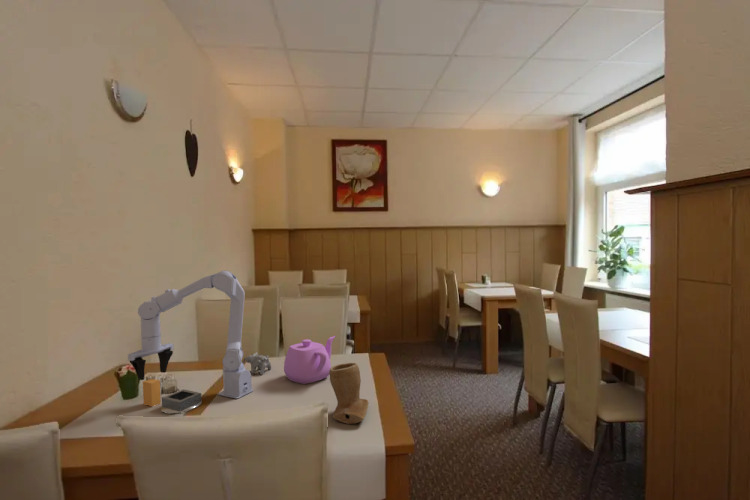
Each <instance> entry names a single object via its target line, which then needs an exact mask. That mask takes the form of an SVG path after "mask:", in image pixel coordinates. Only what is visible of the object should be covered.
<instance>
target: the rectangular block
mask: <svg viewBox="0 0 750 500" xmlns="http://www.w3.org/2000/svg"><path fill="white" fill-rule="evenodd" d="M142 390H143V391H142V392H143V394H142V395H143V405H144V404H145V405H149V406H154V405H156V406H158V405H157V404H159V405H161V404H162V397H161V396H162V395H161V380H160V379H156V378H155V379H154V378H149V379H146V380H142ZM160 403H161V404H160ZM145 405H144V406H145ZM149 406H148V407H149ZM154 407H155V406H154Z"/></svg>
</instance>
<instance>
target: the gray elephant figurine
mask: <svg viewBox="0 0 750 500" xmlns="http://www.w3.org/2000/svg"><path fill="white" fill-rule="evenodd" d="M245 362H246V363H247V364H250V370H251V371H250V373H251V375H254V374H255V373H256V370H258V371H259V375H260V376H263V375H264V373H265V372H264V371H265V370H266V369H267V370H268V371H270V370H272V365H271V361H270V356H269V355H262V354H259V353H258V351H256V352H255V353H253V354H249V355H247V356H245V357H244V358H243V360H242V363H243V364H244V365H245Z"/></svg>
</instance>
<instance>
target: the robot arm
mask: <svg viewBox="0 0 750 500" xmlns="http://www.w3.org/2000/svg"><path fill="white" fill-rule="evenodd" d="M213 288H215V289H216V290H218V291H220V292H223V293H224V294H225V295H226V296H228V298H230V308H229V318H228V319H229V321H228V333H227V343H226V350H225V353H224V354H225V355H224V357H223V359H222V361H221V362H222V366H223V367H222V379H223V382H222V383H223V385H222V386H223V390H222V391H220V392H218V393H217V396H221V397H227V398H231V399H239V398H241V397H244V396H246V395H248V394H249V393H252V392H253V391H254V388H252V386H253V384H252V373H251V371H250V370H248V369H246V367H245V363H244V364H243V359H244V358H243V357H244V351H243V349H242V334H243V323H244V322H243V321H244V309H245V296H246V292H245V289H244V288H243V286H242V285H241V283H240V282H239V280H238V278H237V276H236V275H234V273H232V272H231V271H228V270H221V271H218V272H217V273H213V274H210V275H209V274H208V275H206V276H203V277H202V278H200V279H197V280H196V281H194V282H192V283H190V284H188V285H186V286H184V287H183V288H181V289H175V288H172V289H170V288H168V289H166V290H164V292H163V293H162V294H160V295H157V296H153V297H150V299H151V300H148V301H144V302H143V303H141V304H140V305H139V307H138V308H137V314H138V316H139V317H140V334H141V335H140V337H141V338H140V341H141V343H140V344H141V349H140V350H137V351H134V352H131V353H128V354H127V361H129V363H130V364H131V365H132V367H133V368H134V370H135V373H136V375H137V379H138V381H139V380H140V381H145V366H146V362H147V360H146V359H144V357H148V356H151V355H156V354H157V356H158V359H159V370H160V371H159V372H161V373H166V372H167V368H168V365H169V362H170V359H171V357H172V356H173V354H174V343H164V344H162V332H161V331H162V330H161V329H162V328H161V317H160V316H161V313H164V312H166V311H168V310H170V309H173V308H174V307H177V306H179V305H181V304H182V302H183V300H184V298H186V297H188V296H190V295H192V294H194V293H196V292H198V291H201V290H203V289H213Z"/></svg>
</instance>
